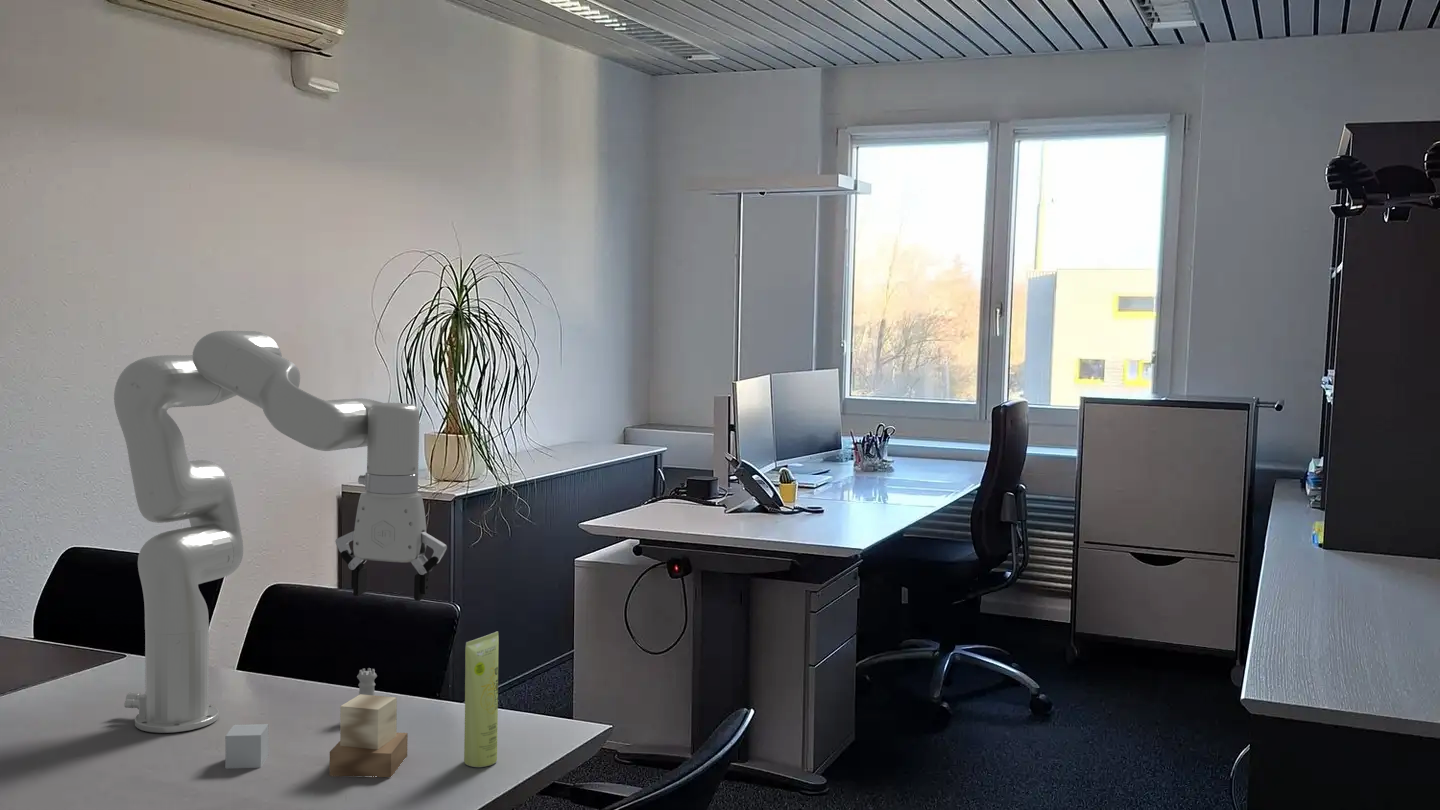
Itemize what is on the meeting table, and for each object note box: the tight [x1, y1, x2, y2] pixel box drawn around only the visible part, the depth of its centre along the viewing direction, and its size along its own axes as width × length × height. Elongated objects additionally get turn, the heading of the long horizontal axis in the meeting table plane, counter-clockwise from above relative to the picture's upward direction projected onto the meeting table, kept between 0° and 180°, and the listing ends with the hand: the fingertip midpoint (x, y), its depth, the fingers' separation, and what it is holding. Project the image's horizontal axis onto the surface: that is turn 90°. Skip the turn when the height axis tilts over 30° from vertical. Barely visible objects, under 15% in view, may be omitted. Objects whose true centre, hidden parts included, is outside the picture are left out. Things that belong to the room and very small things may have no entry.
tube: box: [463, 631, 500, 768], centre depth 182 cm, size 6×5×20 cm
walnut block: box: [329, 732, 409, 778], centre depth 180 cm, size 9×9×4 cm
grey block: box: [224, 723, 269, 769], centre depth 180 cm, size 5×5×5 cm
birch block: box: [339, 694, 398, 750], centre depth 180 cm, size 6×6×6 cm
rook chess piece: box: [356, 667, 378, 696], centre depth 202 cm, size 4×4×8 cm
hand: (389, 596), depth 183 cm, fingers open, 9 cm apart
